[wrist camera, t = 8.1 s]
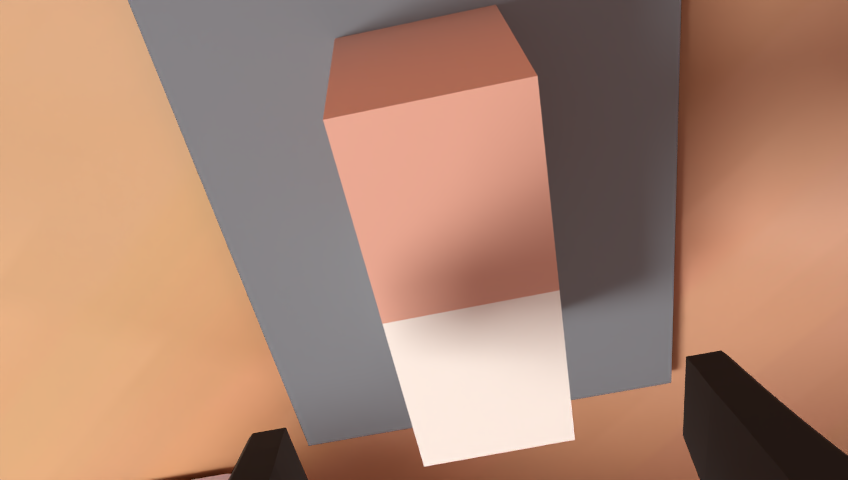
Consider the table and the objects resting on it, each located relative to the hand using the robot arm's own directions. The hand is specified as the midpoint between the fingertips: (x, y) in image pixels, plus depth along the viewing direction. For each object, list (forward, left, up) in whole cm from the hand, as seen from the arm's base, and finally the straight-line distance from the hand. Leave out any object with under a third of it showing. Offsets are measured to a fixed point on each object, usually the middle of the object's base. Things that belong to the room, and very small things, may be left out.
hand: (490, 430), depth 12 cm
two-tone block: (0, 0, -8) cm, 9 cm away
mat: (0, 0, -9) cm, 9 cm away
